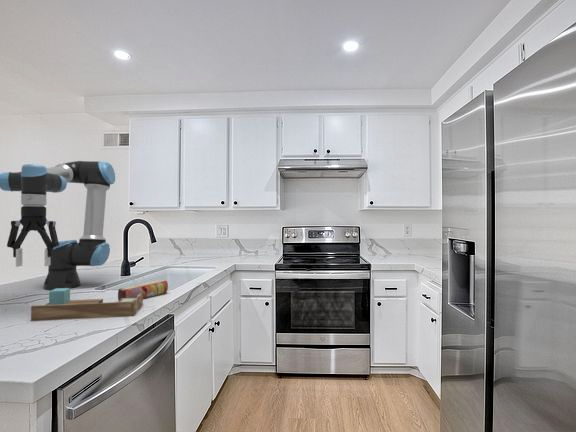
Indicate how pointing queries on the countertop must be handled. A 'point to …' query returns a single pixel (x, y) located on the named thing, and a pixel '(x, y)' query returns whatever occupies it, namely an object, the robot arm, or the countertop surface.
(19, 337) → the countertop surface
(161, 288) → the snack package
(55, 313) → the trap board
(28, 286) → the countertop surface
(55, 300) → the teal block
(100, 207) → the robot arm
